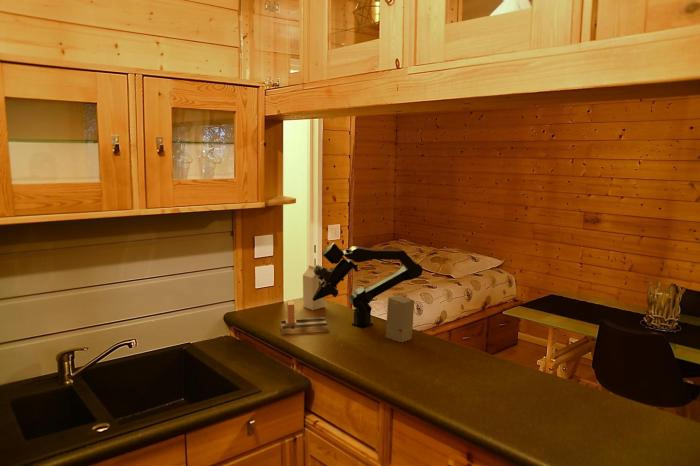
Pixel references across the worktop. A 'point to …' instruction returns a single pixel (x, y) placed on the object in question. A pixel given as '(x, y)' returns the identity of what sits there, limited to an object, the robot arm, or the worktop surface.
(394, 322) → the skincare box
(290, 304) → the fader tab
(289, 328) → the slider board
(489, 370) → the worktop surface
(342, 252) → the robot arm
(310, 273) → the milk carton
